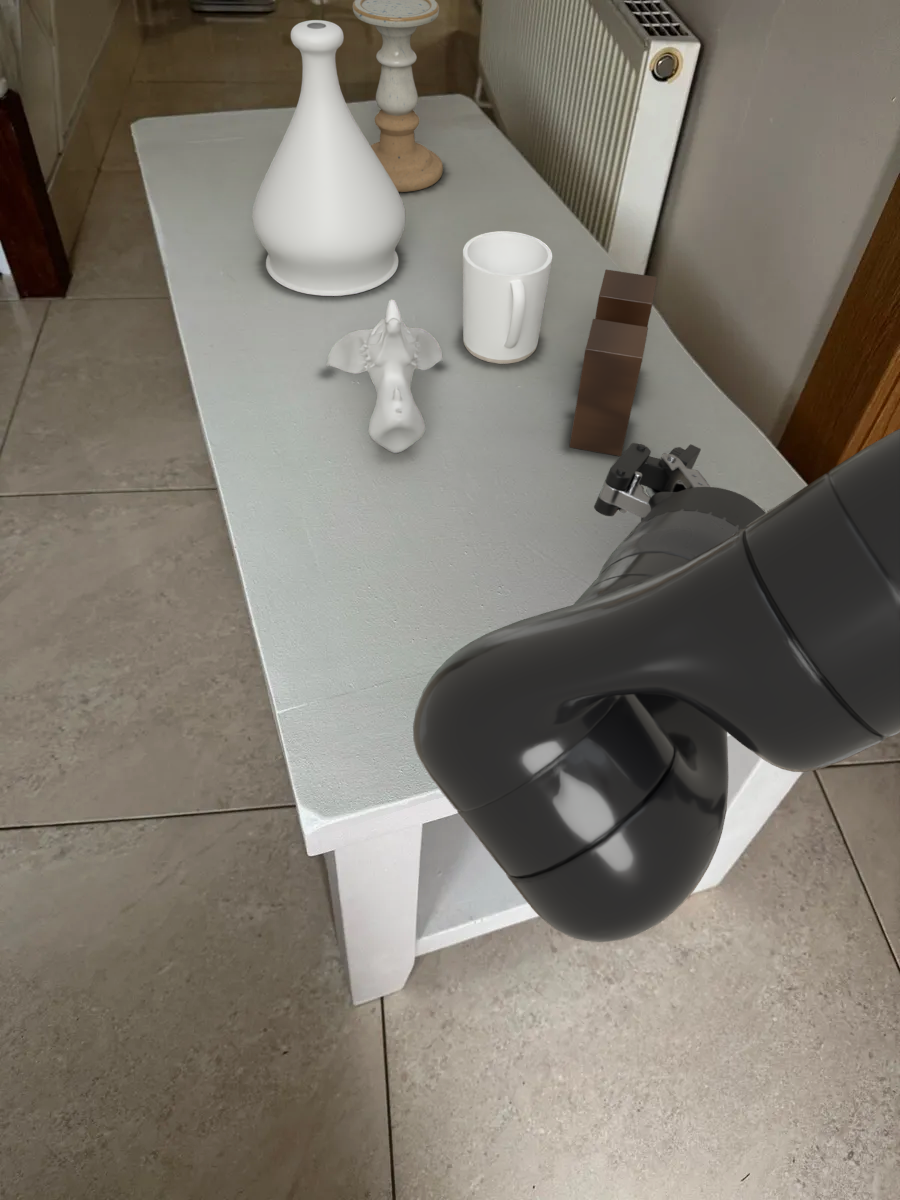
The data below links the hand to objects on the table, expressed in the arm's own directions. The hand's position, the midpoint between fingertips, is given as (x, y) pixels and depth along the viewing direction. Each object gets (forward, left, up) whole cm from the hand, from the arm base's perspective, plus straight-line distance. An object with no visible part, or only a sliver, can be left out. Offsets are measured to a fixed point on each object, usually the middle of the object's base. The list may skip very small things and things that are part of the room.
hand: (753, 490), depth 57 cm
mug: (+22, -39, -19) cm, 49 cm away
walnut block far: (+10, -36, -19) cm, 42 cm away
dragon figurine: (+30, -24, -19) cm, 43 cm away
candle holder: (+44, -76, -19) cm, 90 cm away
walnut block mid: (+10, -27, -19) cm, 35 cm away
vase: (+45, -51, -19) cm, 71 cm away
